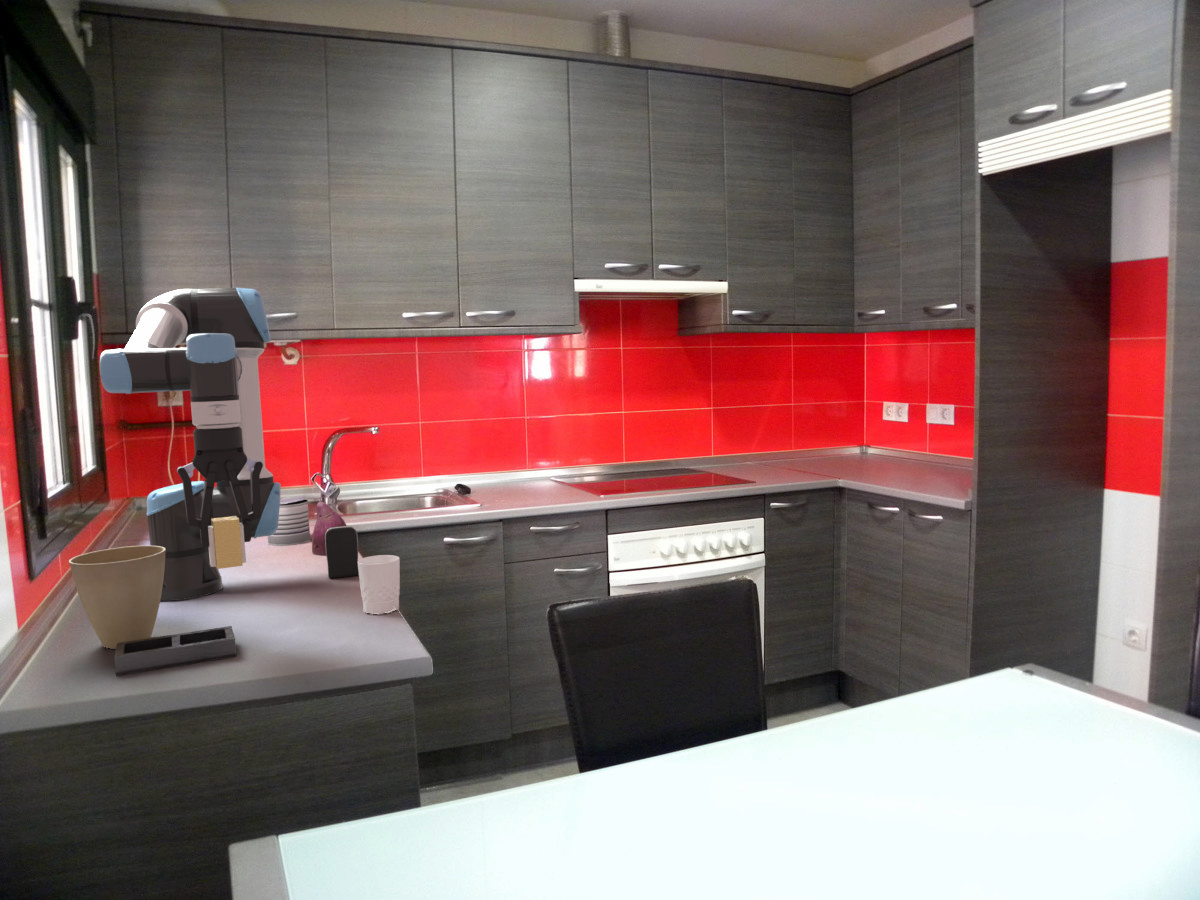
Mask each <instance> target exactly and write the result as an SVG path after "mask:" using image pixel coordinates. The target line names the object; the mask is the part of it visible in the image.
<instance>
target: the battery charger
mask: <svg viewBox="0 0 1200 900" xmlns="http://www.w3.org/2000/svg"><path fill="white" fill-rule="evenodd" d="M358 540H359V539H358V532H357V530H356V529H355V527H354V526H352V525H347V526H337V527H331V528H329V529H327V531H326V534H325V546H326V555H325V556H326V563H327V578H328V579H338V578H339V579H340V578H347V577H356V576H359V571H358V560H359V541H358Z"/></svg>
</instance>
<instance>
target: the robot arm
mask: <svg viewBox="0 0 1200 900" xmlns="http://www.w3.org/2000/svg"><path fill="white" fill-rule="evenodd" d="M135 328H136V329H134V331H133V334H132V335H131V337H130V338H129V341H128V342H127V344H126V345H125V347H124V348H115V349H105V350H104V351H102V352H101V354H100V357H99V374H100V381H101V384H102V386H103V389H104V390H105V391H106V392H108V393H110V394H125V395H130V394H139V393H143V394H144V393H158V392H159V393H164V392H186V391H189V392H190V408H191V410H190V411H191V420H192V421H191V422H192V423H191V424H192V425H193V426H195V428H194V430H193V431H192V432H193V433H192V434H193V445H194V446H193V447H194V455H193V458H192V461H191V462H190V463H187V464H186V465H183V466H182V465H181V466H178V467H177V469H176V472H177V474H178V475H179V478H180V479H181V480H182V483H178V484H173V485H168V486H164V487H162V488H157V489H154V490H153V491H151V492H150V493H149V494H148V495H147V499H146V516H147V525H148V534H149V546H161V547H164V548H165V549H166V551H165V568H164V579H163V587H162V594H161V599H160V602H161V601H164V602H165V601H167V602H169V601H179V600H180V601H182V600H188V599H194V598H200V597H204V596H207V595H210V594H214V593H216V592H218V591H220V590H222V589H223V580H222V579H223V578H222V575H221V572H220V571H219V570H220V569H217V568H216V556H215V544H214V531H213V527H212V523H211V519H212V518H221V517H231V516H237V517H238V518H239V525H240V538H241V551H242V564H245V563H247V558H246V557H247V555H246V543H250V542H251V541H252V539H257V538H262V537H268V536H270V535H273V534H274V533H275V532H276V531H277V528H278V521H279V509H280V499H281V492H282V491H281V489H282V486H281V483H279V482H277V481H274V474H273V473H272V472H271V471H269V470H268V468H266V462H265V461H266V459H265V446H264V434H263V433H264V432H263V431H264V430H263V420H262V419H263V415H262V406H261V405H262V404H261V402H262V401H261V388H260V375H259V374H260V373H259V362H258V360H259V357H260V356H261V355H262V354H263V353H264V351H265V343H266V344H267V343H269V342H271V340H272V339H271V335H270V333H271V332H270V326H269V322H268V317H267V313H266V309H265V304H264V300H263V297H262V294H261V292H260V291H258V289H255V288H244V287H217V288H215V287H213V288H180V289H176V290H172V291H169V292H165V293H163V294H161V295H158V296H157V297H154V298H153V299H151V300H150V301H148V302H147V303H146V304H145V305H143V307H142V308H141V309H140V310H139V311H138V314H137V315H136V318H135ZM180 344H181V345H182V344H186V347H177V346H178V345H180ZM194 469H196V470H197V472H198V473H200V475H201V476H202V477H203V478H204V481H203V480H197V481H192V480H191V478H192V477H193V476H194ZM215 483H216V484H215ZM215 485H216V486H215Z"/></svg>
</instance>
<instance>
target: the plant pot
mask: <svg viewBox="0 0 1200 900" xmlns="http://www.w3.org/2000/svg"><path fill="white" fill-rule="evenodd" d="M165 551H166V549H165V548H164V547H161V546H150V545H131V546H130V545H129V546H120V547H114V548H113V547H112V548H108V549H107V548H106V549H101V550H95V551H91V552H87V553H86V552H85V553H82V554H79V555H76V556H74V557H72V558H70V559H69V560H68V563H69V566H70V570H71V573H72V574H71V575H72V578H73V581H74V584H75V587H76V591H77V594H78V596H79V599H80V601H81V604H82V607H83V609H84V611H85V614H86V616H87V619H88V620H89V622H90V624H91V627H92V628H93V630H94V632H95V634H96V636H97V638H98V639H99V641H100V643H101V645H102V646H103V648H105V647H106V648H105V649H108V648H110V649H109V650H116V645H117V643H120V642H126V641H133V640H140V639H146V638H152V635H153V631H154V629H155V625H156V621H157V619H158V618H157V617H158V613H159V608H160V604H161V601H160V599H161V594H162V587H163V579H164V568H165Z"/></svg>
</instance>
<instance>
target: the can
mask: <svg viewBox="0 0 1200 900" xmlns="http://www.w3.org/2000/svg"><path fill="white" fill-rule="evenodd" d="M308 498H309V496H307V495H298V496H287V497H283V498H280V509H279V521H278V528H277V531H276V532H275V533H274V534H273V535H270V536H267V540H268V541H267V543H268V546H273V547H289V546H295V545H302V544H306V543H309V542H310V541H311V531H310V516H309V515H310V513H309V503H308V502H309V501H308Z"/></svg>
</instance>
